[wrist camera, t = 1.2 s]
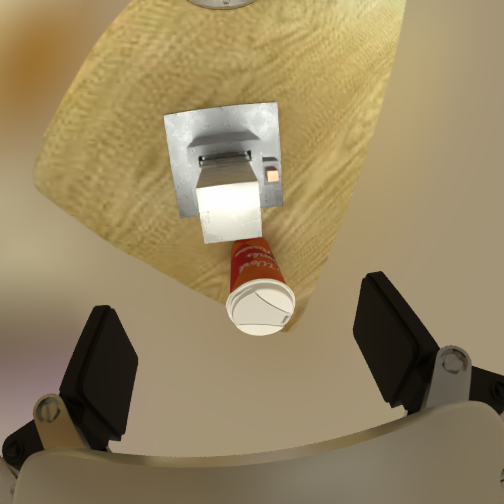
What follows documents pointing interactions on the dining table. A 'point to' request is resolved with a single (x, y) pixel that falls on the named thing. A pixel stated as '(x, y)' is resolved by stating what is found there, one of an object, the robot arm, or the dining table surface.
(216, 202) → the column
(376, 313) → the robot arm
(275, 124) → the stand base
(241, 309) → the paper cup
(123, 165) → the dining table surface
